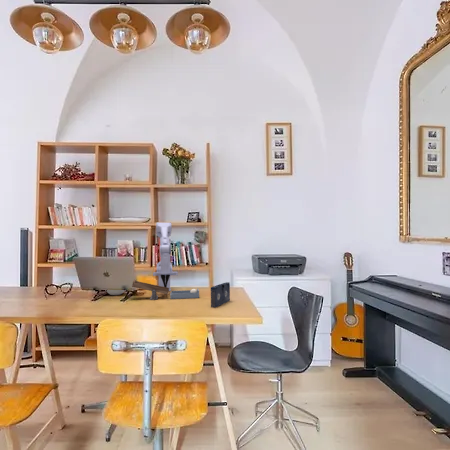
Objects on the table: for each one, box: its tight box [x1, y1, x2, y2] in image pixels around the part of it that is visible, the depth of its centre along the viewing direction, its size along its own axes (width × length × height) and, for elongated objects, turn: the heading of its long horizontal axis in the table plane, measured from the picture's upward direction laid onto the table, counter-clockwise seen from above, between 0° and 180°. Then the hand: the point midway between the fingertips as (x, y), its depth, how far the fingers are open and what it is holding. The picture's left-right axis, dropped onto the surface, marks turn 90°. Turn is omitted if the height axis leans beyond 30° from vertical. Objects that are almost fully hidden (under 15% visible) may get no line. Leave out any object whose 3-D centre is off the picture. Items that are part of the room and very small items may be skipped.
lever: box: [131, 279, 170, 295], centre depth 198 cm, size 15×20×3 cm
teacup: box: [106, 290, 125, 296], centre depth 206 cm, size 14×11×8 cm
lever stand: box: [149, 289, 159, 301], centre depth 194 cm, size 11×4×6 cm, turn 8°
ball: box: [190, 288, 197, 293], centre depth 197 cm, size 4×4×4 cm
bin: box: [169, 287, 200, 300], centre depth 196 cm, size 9×16×4 cm, turn 98°
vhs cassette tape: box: [210, 281, 231, 309], centre depth 178 cm, size 18×3×10 cm, turn 154°
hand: (165, 287), depth 204 cm, fingers closed, pressing on lever
